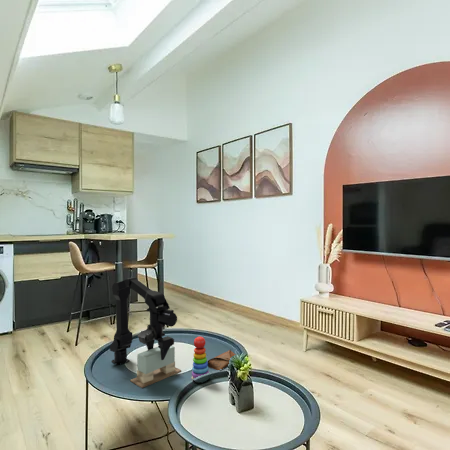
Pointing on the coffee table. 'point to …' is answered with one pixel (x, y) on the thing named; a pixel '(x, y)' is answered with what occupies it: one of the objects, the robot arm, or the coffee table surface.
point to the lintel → (154, 359)
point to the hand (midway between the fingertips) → (156, 357)
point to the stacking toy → (199, 358)
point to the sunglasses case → (220, 360)
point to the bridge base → (155, 375)
